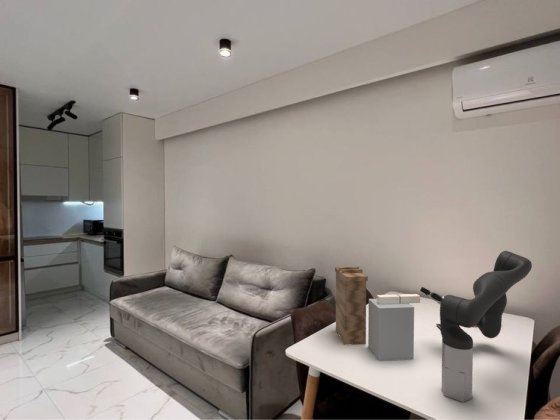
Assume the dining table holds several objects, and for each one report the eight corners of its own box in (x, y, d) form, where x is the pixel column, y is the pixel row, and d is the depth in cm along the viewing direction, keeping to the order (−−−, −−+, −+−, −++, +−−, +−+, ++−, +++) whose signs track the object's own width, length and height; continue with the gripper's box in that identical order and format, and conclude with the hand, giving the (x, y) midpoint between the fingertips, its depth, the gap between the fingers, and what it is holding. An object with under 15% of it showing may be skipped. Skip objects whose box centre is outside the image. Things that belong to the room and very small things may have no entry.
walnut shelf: (353, 327, 162) (353, 263, 161) (367, 345, 142) (367, 273, 141) (334, 328, 161) (334, 264, 160) (346, 346, 141) (346, 273, 140)
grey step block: (400, 345, 142) (400, 297, 141) (413, 359, 130) (414, 307, 129) (368, 347, 141) (368, 298, 140) (378, 360, 129) (379, 308, 128)
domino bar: (416, 300, 137) (416, 293, 137) (420, 303, 134) (420, 295, 134) (376, 302, 136) (376, 294, 136) (379, 304, 133) (379, 297, 133)
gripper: (450, 296, 144) (421, 279, 143) (472, 307, 130) (440, 288, 129) (442, 310, 144) (413, 294, 143) (463, 322, 130) (431, 304, 129)
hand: (426, 291), depth 136 cm, fingers open, 8 cm apart
